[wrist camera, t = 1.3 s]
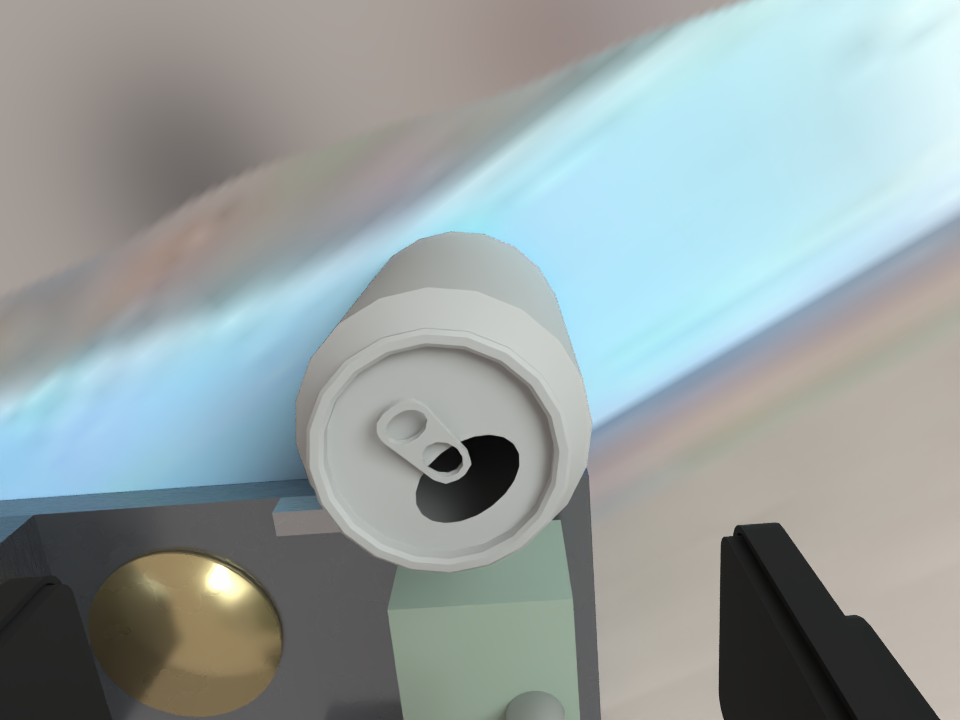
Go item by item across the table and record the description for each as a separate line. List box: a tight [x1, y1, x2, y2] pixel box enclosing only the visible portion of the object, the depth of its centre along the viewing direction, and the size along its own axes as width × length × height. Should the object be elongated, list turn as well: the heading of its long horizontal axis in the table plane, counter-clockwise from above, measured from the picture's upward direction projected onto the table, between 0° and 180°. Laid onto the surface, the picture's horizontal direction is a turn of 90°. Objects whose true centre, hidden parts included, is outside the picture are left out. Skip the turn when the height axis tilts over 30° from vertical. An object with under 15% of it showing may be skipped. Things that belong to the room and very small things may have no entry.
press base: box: [0, 468, 601, 720], centre depth 28 cm, size 12×26×10 cm, turn 95°
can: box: [296, 231, 592, 573], centre depth 23 cm, size 8×8×12 cm
